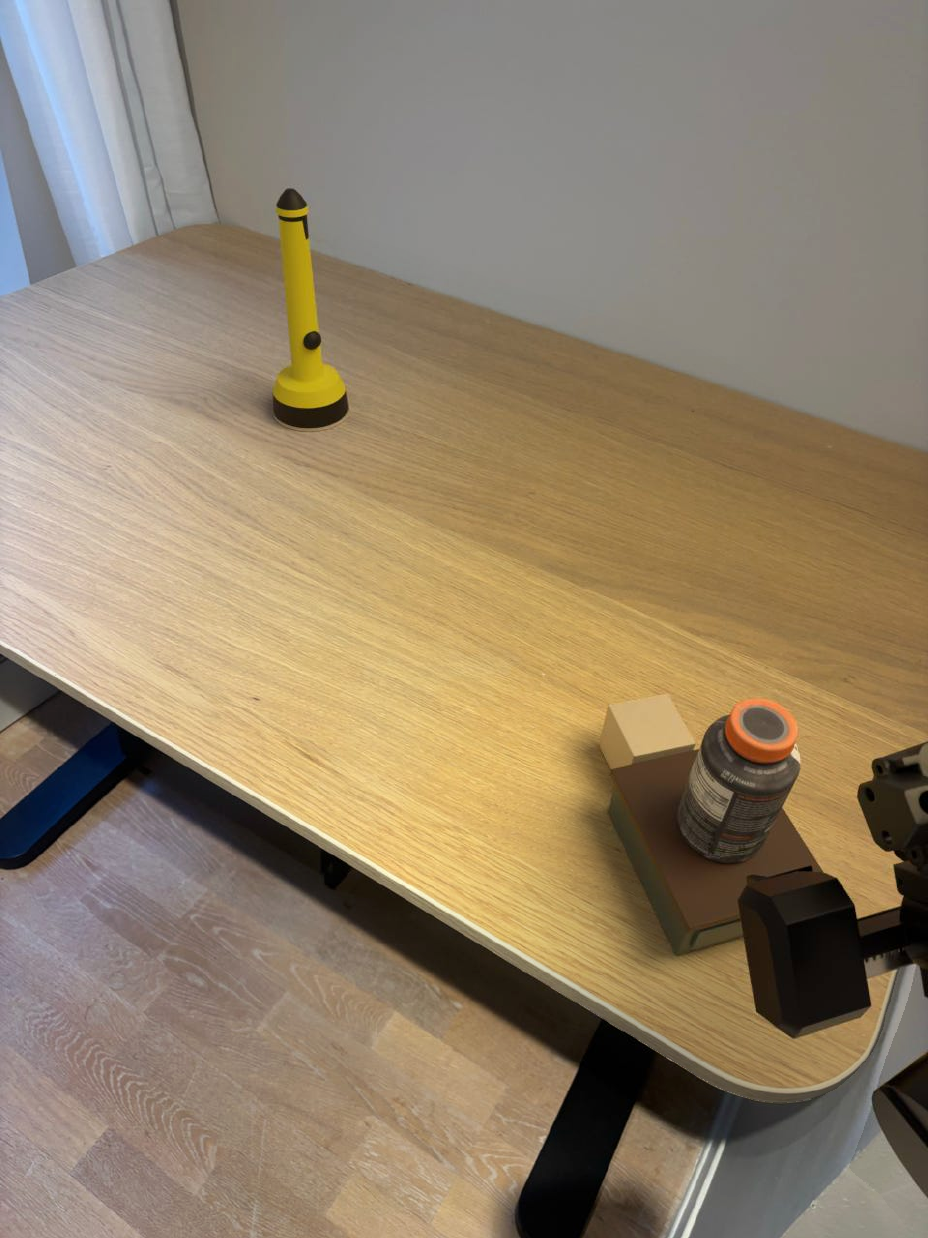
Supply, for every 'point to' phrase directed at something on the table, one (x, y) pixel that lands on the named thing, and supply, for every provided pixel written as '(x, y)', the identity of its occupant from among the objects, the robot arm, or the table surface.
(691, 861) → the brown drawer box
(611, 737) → the beige cube
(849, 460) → the table surface
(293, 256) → the flashlight
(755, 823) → the pill bottle
